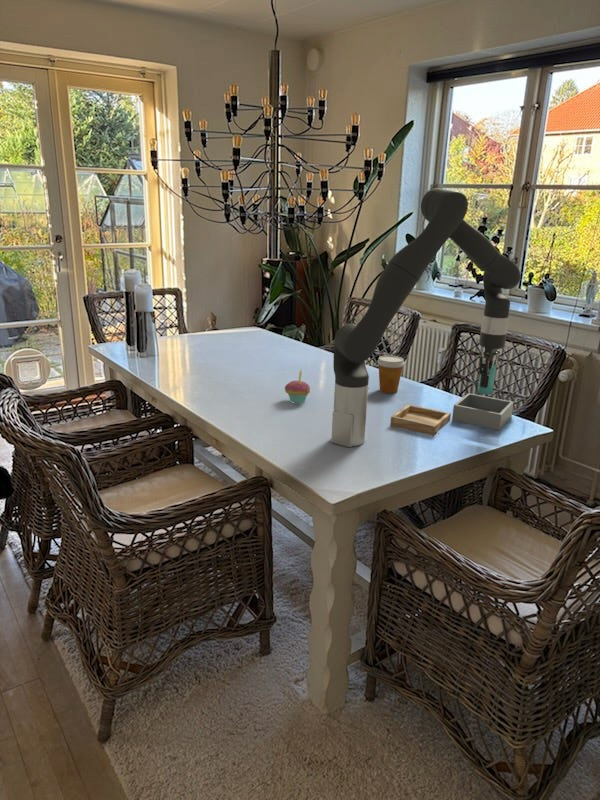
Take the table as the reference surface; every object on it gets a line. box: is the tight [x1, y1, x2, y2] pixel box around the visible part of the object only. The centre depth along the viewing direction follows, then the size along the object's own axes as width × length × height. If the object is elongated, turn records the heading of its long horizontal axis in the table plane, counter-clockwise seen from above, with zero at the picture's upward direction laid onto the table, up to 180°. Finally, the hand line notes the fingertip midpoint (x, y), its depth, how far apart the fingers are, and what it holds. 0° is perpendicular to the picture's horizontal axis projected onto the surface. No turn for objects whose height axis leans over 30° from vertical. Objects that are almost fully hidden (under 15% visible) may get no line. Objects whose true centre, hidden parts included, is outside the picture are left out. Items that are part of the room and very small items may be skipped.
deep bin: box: [451, 392, 515, 431], centre depth 191 cm, size 15×15×6 cm
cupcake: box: [284, 370, 311, 404], centre depth 203 cm, size 9×8×12 cm
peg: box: [477, 364, 497, 396], centre depth 188 cm, size 4×4×9 cm
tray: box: [389, 404, 452, 437], centre depth 188 cm, size 14×14×3 cm
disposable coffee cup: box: [376, 355, 405, 394], centre depth 218 cm, size 10×10×12 cm
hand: (485, 385), depth 188 cm, fingers closed on peg, 4 cm apart
